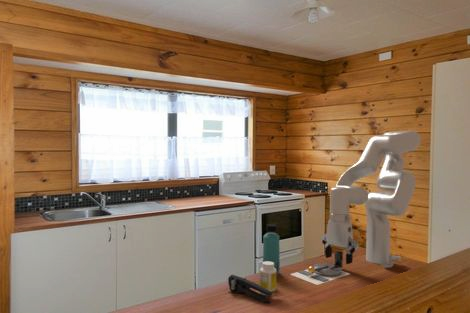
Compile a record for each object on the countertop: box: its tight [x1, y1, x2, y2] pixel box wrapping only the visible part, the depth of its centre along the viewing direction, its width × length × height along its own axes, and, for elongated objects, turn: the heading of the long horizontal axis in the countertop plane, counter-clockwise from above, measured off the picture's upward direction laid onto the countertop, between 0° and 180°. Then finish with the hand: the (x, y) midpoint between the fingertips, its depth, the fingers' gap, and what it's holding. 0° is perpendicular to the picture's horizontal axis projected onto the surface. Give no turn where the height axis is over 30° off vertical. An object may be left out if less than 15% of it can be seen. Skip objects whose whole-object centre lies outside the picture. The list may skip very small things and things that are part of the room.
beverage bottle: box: [262, 223, 281, 276], centre depth 133 cm, size 6×7×20 cm
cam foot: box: [307, 249, 344, 276], centre depth 135 cm, size 19×11×7 cm, turn 126°
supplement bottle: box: [259, 261, 277, 297], centre depth 118 cm, size 6×6×10 cm
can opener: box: [227, 274, 273, 303], centre depth 116 cm, size 18×7×6 cm, turn 47°
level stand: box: [289, 268, 351, 286], centre depth 133 cm, size 20×13×2 cm, turn 127°
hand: (338, 260), depth 140 cm, fingers open, 9 cm apart
